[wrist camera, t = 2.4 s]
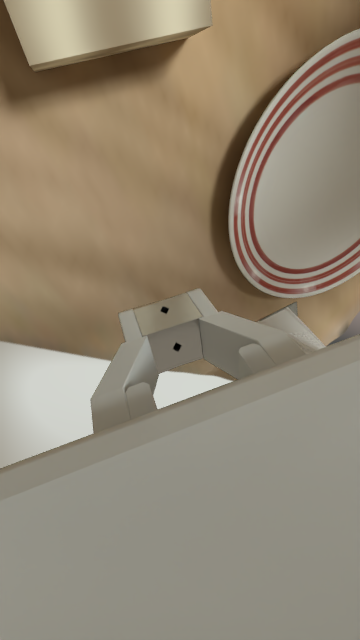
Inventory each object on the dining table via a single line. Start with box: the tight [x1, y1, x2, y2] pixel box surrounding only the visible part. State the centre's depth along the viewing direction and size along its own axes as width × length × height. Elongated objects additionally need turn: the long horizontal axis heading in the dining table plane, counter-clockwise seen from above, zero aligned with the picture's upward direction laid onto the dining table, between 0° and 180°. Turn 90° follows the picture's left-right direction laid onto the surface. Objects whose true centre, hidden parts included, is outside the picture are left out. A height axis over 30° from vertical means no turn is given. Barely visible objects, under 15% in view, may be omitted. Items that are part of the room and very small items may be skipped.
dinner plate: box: [228, 29, 360, 298], centre depth 33 cm, size 27×27×3 cm
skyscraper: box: [257, 302, 325, 354], centre depth 36 cm, size 8×8×28 cm
